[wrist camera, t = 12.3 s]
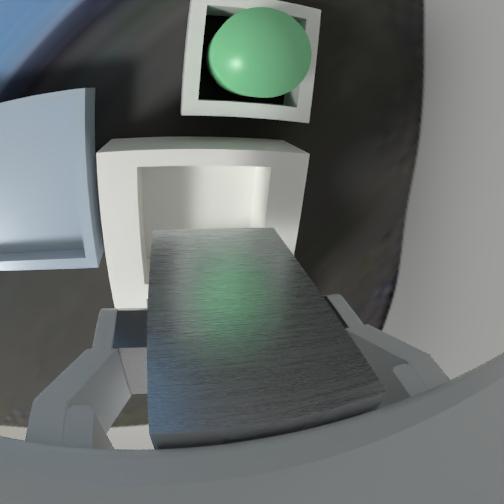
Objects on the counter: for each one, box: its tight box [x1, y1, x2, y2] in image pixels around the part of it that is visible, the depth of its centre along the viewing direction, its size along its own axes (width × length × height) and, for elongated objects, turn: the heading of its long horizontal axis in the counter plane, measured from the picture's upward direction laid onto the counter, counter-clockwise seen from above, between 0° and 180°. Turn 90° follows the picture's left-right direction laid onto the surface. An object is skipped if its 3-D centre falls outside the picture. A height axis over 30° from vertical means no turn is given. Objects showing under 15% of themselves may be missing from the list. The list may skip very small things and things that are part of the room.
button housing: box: [180, 0, 321, 123], centre depth 13 cm, size 6×6×2 cm
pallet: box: [96, 136, 310, 309], centre depth 17 cm, size 14×9×4 cm, turn 174°
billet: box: [147, 227, 388, 449], centre depth 8 cm, size 4×4×7 cm
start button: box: [206, 7, 312, 98], centre depth 12 cm, size 4×4×3 cm
